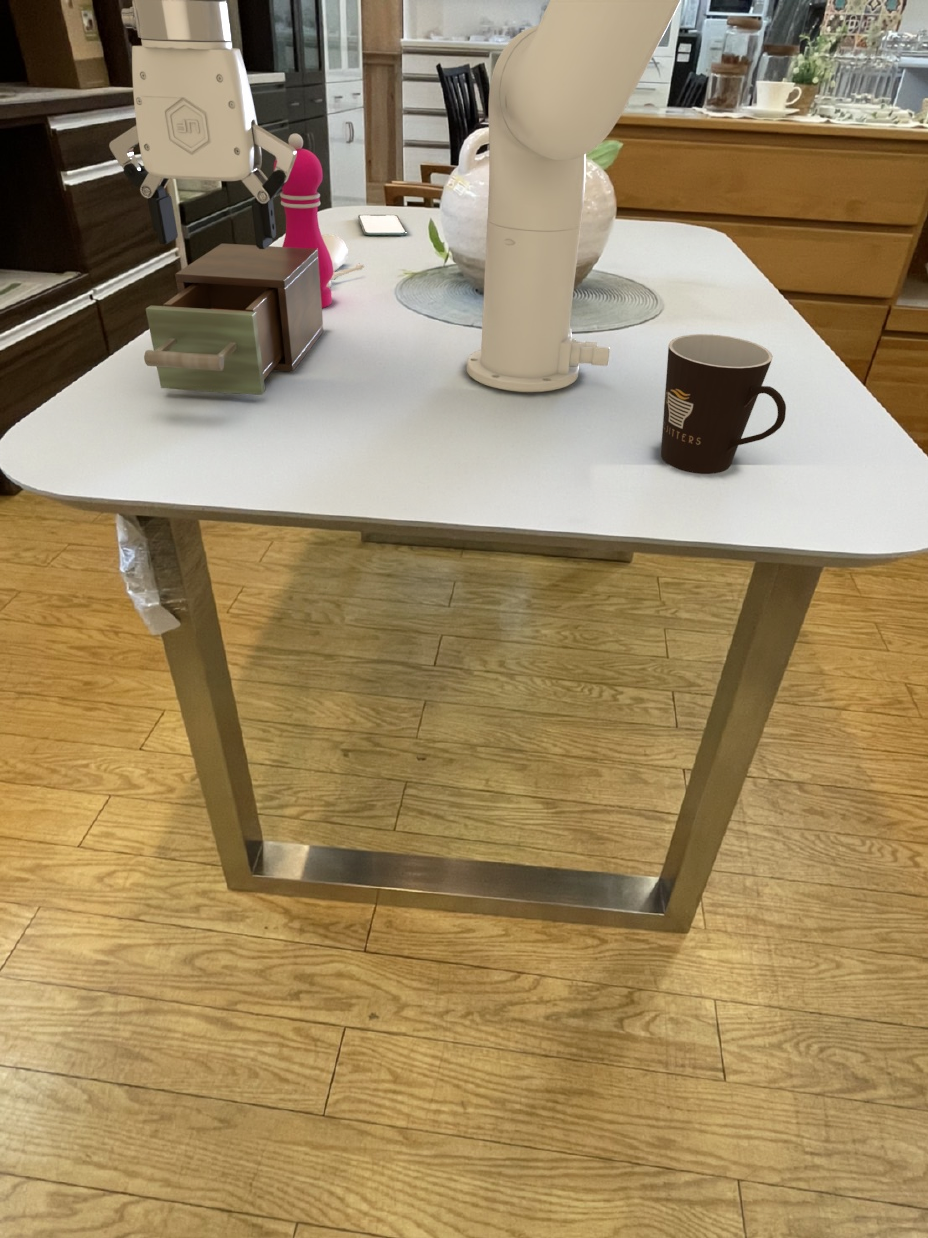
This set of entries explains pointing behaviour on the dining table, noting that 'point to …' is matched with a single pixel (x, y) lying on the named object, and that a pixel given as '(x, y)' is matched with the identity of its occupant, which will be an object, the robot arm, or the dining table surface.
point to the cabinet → (274, 270)
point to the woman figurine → (338, 255)
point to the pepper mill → (306, 211)
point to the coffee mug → (712, 400)
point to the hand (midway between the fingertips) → (216, 243)
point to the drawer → (216, 338)
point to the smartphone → (381, 225)
